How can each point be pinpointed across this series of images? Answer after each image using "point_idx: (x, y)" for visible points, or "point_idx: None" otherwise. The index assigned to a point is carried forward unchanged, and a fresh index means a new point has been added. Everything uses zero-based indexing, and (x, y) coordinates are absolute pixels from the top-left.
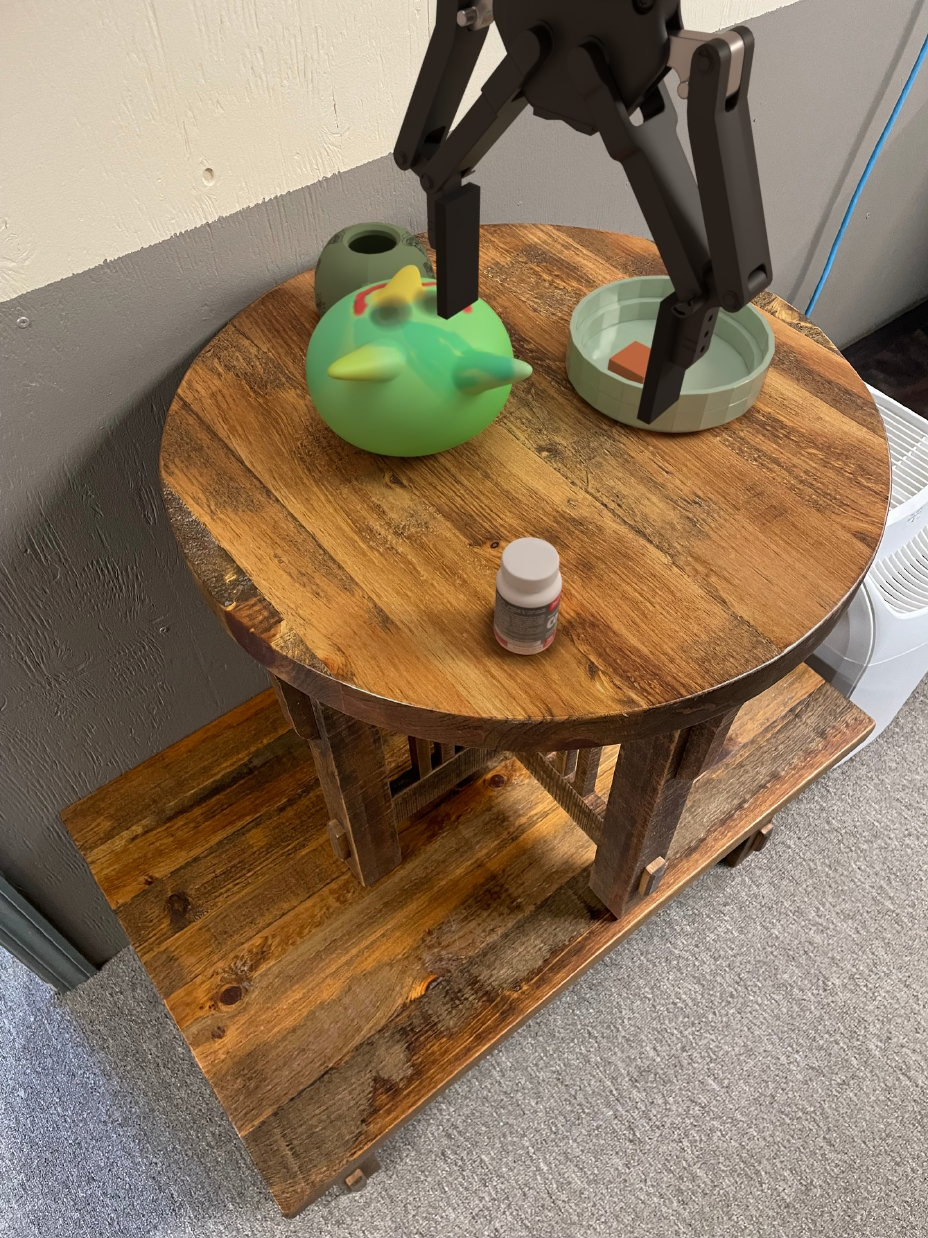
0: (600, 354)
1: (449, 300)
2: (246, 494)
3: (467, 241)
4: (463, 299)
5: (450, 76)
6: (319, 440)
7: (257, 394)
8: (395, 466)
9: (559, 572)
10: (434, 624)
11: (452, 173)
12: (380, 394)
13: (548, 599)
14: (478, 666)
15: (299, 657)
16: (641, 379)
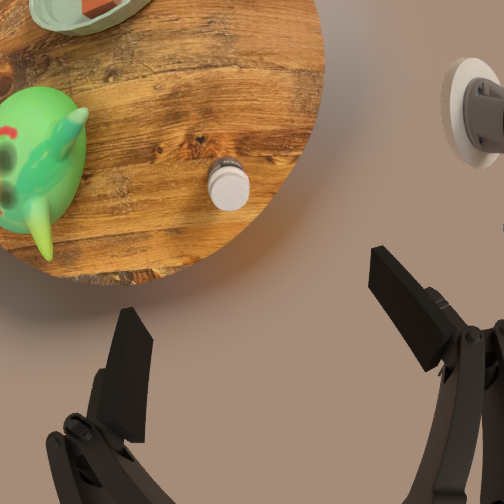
0: (65, 8)
1: (149, 351)
2: (68, 251)
3: (130, 379)
4: (141, 331)
5: None
6: None
7: None
8: None
9: (237, 170)
10: (192, 211)
11: (145, 471)
12: (55, 210)
13: (249, 188)
14: None
15: (176, 271)
16: (112, 2)
